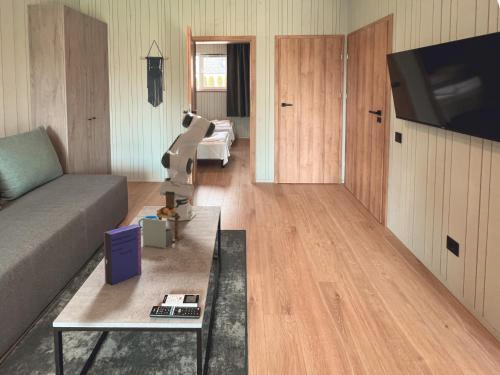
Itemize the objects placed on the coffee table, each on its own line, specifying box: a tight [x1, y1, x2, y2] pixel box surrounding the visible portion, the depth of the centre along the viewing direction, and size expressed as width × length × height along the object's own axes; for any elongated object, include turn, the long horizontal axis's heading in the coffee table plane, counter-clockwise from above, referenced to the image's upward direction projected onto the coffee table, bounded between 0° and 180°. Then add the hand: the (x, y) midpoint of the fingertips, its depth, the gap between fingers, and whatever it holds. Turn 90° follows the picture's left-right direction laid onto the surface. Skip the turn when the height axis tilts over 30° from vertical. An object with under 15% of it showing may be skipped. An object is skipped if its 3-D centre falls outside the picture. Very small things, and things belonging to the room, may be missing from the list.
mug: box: [137, 215, 158, 230], centre depth 305 cm, size 12×8×8 cm
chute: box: [156, 191, 177, 219], centre depth 283 cm, size 10×9×15 cm
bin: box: [142, 217, 174, 250], centre depth 277 cm, size 11×14×16 cm
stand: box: [157, 213, 184, 244], centre depth 288 cm, size 10×14×16 cm
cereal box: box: [103, 223, 143, 286], centre depth 227 cm, size 17×5×24 cm, turn 144°
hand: (171, 202), depth 288 cm, fingers closed, pressing on chute
